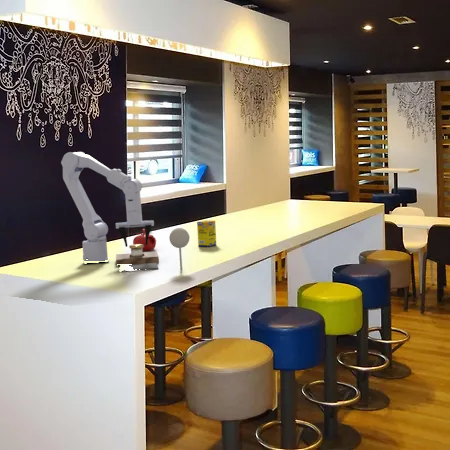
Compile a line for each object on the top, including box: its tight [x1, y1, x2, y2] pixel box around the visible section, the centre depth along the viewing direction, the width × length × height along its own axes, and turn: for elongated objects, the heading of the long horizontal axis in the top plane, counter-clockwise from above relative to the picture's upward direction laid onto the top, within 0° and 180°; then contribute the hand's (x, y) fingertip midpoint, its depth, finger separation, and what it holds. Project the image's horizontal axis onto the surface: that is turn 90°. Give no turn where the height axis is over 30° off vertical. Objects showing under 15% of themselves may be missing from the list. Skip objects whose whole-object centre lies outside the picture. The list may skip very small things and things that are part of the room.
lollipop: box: [169, 227, 190, 271], centre depth 218 cm, size 7×7×15 cm
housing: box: [115, 250, 160, 264], centre depth 238 cm, size 16×12×2 cm
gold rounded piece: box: [128, 244, 144, 257], centre depth 238 cm, size 5×5×6 cm
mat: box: [129, 263, 159, 271], centre depth 226 cm, size 14×10×1 cm
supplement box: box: [196, 220, 217, 248], centre depth 267 cm, size 6×6×11 cm
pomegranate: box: [132, 228, 157, 252], centre depth 264 cm, size 10×10×9 cm
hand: (136, 245), depth 237 cm, fingers open, 7 cm apart
